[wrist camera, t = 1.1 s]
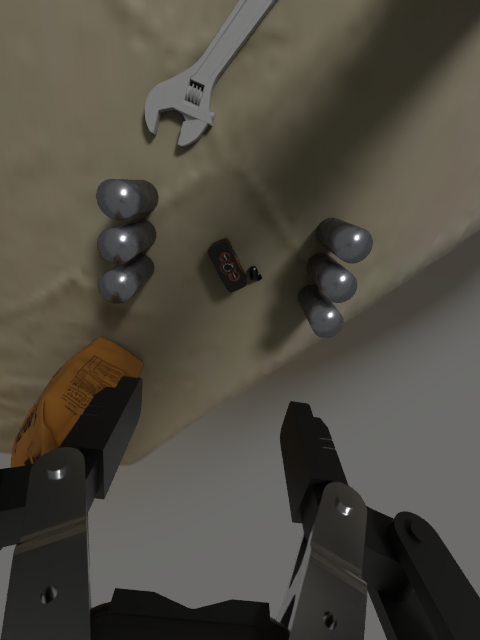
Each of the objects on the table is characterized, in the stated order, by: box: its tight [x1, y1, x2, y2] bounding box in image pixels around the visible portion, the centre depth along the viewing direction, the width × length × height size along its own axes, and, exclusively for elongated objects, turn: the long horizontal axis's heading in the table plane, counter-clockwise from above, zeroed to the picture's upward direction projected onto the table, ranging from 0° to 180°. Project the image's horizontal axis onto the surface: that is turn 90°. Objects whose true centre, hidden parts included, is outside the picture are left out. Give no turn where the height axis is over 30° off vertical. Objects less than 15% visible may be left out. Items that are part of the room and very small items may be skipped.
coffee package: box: [11, 337, 143, 468], centre depth 37 cm, size 10×12×22 cm
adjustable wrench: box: [145, 0, 277, 147], centre depth 30 cm, size 25×6×2 cm, turn 132°
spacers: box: [96, 179, 373, 338], centre depth 35 cm, size 13×28×9 cm, turn 80°
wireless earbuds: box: [208, 238, 262, 292], centre depth 38 cm, size 5×7×3 cm, turn 26°
